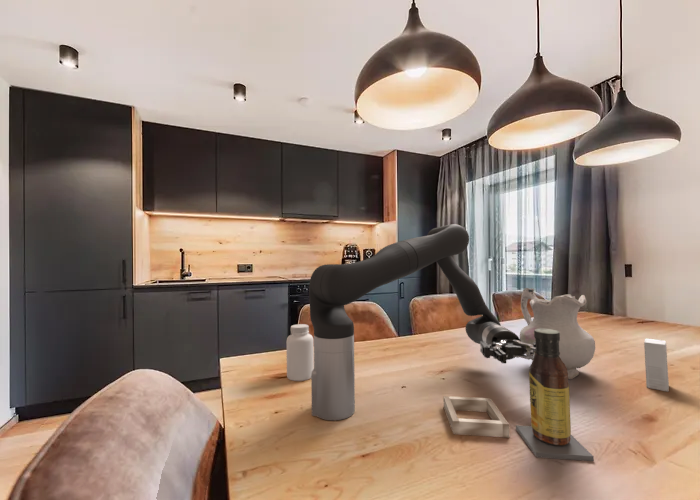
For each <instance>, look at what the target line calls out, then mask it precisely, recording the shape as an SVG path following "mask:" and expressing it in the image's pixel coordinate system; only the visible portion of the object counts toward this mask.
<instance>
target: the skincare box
mask: <svg viewBox="0 0 700 500" xmlns="http://www.w3.org/2000/svg"><path fill="white" fill-rule="evenodd" d="M643 343H644V344H643V345H644V362H645V363H644V364H645V380H646V383H645V385H646V388H648V389H653V390H658V391H662V392H665V393H666V392H667V393H668V392H670V391H669V389H670V383H669V371H668V370H669V368H668V350H667V348H668V347H667V341H666V340H664V339H663V340H662V339H653V338H644V342H643Z"/></svg>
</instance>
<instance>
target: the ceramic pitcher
mask: <svg viewBox="0 0 700 500" xmlns="http://www.w3.org/2000/svg"><path fill="white" fill-rule="evenodd" d="M534 291H535V289H534V288H529V287H526V288H525V287H524V289H522V294H521V296H520V309H521V313H522V315H523V318H524V320H525V322H526V324H527V325H526V326H523V328H521V330H520V332H519V339H520V340H521V342H523V343H527V344H531V345H533V343H534V342H536V341H535V337H534V330H535V329H542V328H543V329H552V330H556V331H559V333H560V341H559V352H560V355H559V357H560V358H561V360H562V361H563V363H564V364H565V366H566V368H567V372H568V380H573V379H574V378H576V377H577V376H578V375H579V374H580V372H579V371H578V370H577V369H581V368H583V367H586V366H587V365H588V364H590V363H591V361H592V360H593V358H594V355H595V352H596V340H595V339H594V336H592V335H591V333H590V332H588V331H586V330H585V329H584V328H582V326H580V324H579V323H578V319H577V318H578V313H579V311H580V308H581V307H584V306H585V305H586V304H587V299H586V296H585V294H581V296H579V298H578V299H576V296H572V294H570V293H569V294H563V295H557V296H554V297H552V299H551V300H547V299H544V298H543V299H541V298H538V297H537V296H536V295H537V294H535V293H534ZM529 300H530V301H529ZM528 301H529V305H530V307H531V310H532V313H533V319H532V316H531V314H530V312H529V310H528V307H527V306H528ZM525 355H527V353H526V354H525ZM533 355H534V356H535V354H533ZM530 360H531V361H533V359H530Z"/></svg>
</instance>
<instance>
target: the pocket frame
mask: <svg viewBox="0 0 700 500" xmlns="http://www.w3.org/2000/svg"><path fill="white" fill-rule="evenodd" d="M442 400H443V409H444V413H445V414H446V418H447V420H448V424H449V426H450V429H451V433H452V434H453V435H462V436H476V437H477V436H479V437H480V436H481V437H495V438H496V437H497V438H499V437H500V438H508V439H509V438H510V423H509V422H508V421H507V419H506V418H505V416H504V415H503V414H502V412H501V410H500V409H499V408H498V407H497V405H496V404H495V403H494V401H493V400H492V399H491V398H489V397H467V396H444V395H443V398H442ZM456 411H461V412H462V411H463V412H465V411H467V412H481V413H482V412H483V413H484V412H485V413H487V415H488V416H489V418H490V419H479V418H477V419H476V418H475V419H474V418H463V417H462V418H458V415H457V412H456Z"/></svg>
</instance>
